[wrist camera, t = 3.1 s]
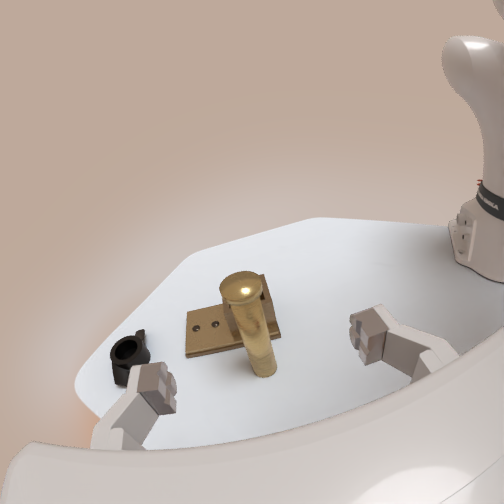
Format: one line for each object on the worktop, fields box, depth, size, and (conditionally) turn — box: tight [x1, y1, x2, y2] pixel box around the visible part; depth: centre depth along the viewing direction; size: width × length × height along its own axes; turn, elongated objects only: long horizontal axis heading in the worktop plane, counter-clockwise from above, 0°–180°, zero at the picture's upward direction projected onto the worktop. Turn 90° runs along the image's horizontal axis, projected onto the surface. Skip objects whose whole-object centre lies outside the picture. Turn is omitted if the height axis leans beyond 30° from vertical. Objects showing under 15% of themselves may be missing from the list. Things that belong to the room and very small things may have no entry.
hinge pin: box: [219, 271, 277, 378], centre depth 30 cm, size 4×4×14 cm
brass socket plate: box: [185, 274, 281, 358], centre depth 40 cm, size 9×14×6 cm, turn 98°
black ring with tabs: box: [110, 329, 150, 386], centre depth 38 cm, size 8×10×3 cm
